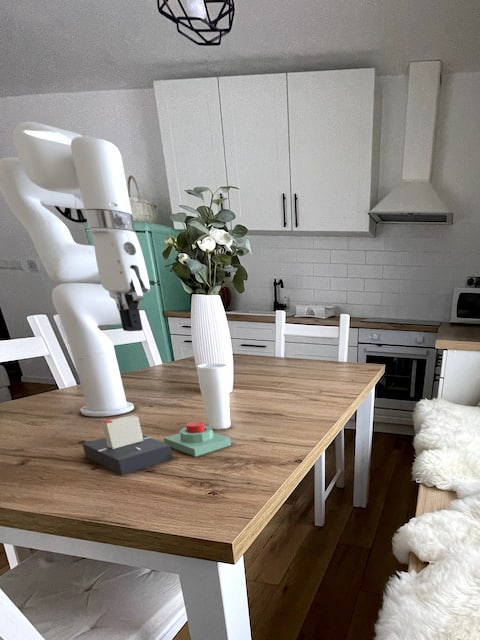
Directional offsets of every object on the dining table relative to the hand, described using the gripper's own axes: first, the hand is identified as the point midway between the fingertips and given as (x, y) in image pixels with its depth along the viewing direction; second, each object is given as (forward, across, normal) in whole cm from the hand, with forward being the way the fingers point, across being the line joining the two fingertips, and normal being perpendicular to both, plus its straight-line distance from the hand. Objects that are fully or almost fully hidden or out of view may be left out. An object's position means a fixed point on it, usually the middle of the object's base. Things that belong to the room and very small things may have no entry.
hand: (133, 330), depth 81 cm
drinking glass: (+23, -5, -14) cm, 28 cm away
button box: (+23, -12, -3) cm, 26 cm away
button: (+20, -12, -3) cm, 24 cm away
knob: (+20, -8, +10) cm, 24 cm away
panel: (+23, -8, +10) cm, 26 cm away
